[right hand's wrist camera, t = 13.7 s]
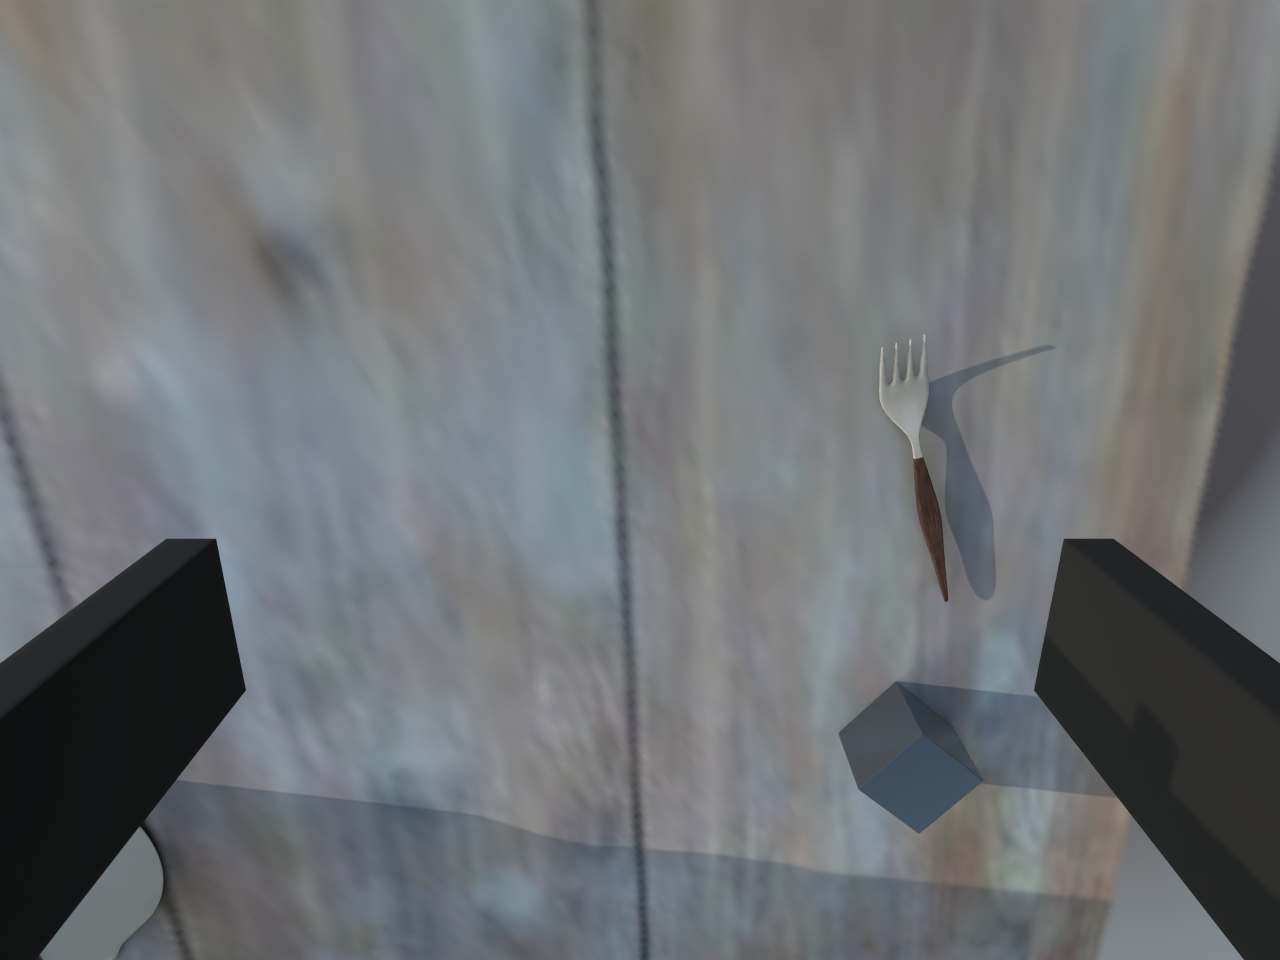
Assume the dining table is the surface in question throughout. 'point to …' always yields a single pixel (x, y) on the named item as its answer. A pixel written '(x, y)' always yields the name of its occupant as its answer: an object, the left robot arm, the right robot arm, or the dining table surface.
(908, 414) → the fork
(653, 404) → the dining table surface
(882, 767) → the slate cube
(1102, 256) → the dining table surface
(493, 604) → the dining table surface
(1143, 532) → the dining table surface
